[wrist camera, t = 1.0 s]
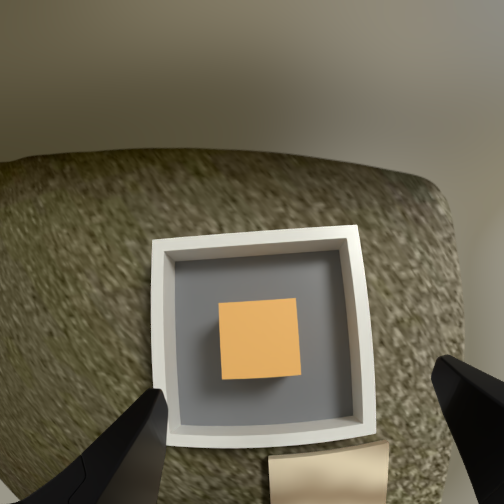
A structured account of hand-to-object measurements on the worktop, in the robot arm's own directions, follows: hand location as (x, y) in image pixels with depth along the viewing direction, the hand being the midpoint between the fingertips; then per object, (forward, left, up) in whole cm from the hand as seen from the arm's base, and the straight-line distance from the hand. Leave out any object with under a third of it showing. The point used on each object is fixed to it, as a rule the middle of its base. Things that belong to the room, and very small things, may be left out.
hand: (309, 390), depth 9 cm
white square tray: (+2, +2, -16) cm, 16 cm away
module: (+2, +2, -16) cm, 16 cm away
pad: (-13, -3, -16) cm, 21 cm away
